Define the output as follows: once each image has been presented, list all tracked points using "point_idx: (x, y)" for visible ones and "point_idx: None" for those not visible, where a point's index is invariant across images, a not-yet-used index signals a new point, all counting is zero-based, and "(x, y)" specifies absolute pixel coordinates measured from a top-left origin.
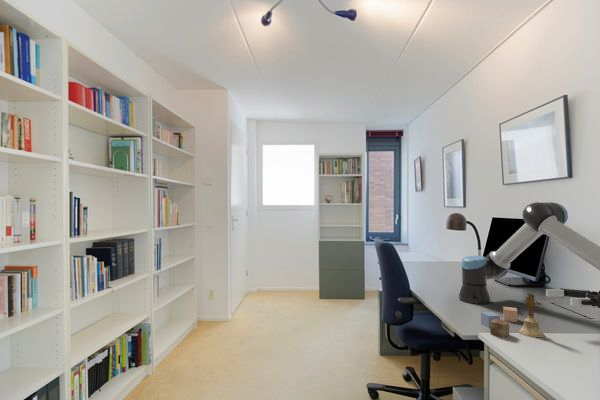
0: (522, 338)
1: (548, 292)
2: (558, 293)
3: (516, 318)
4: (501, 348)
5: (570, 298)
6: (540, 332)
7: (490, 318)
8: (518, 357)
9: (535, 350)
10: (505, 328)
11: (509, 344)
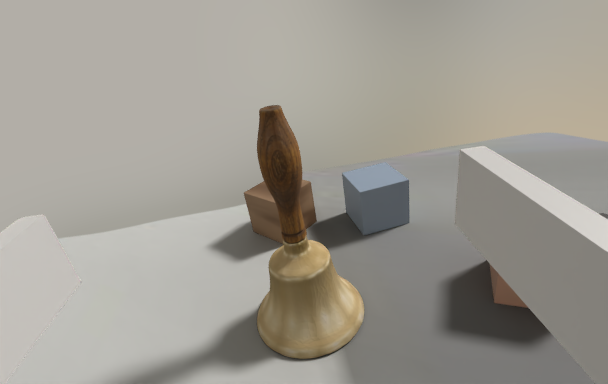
0: (249, 269)
1: (464, 186)
2: (553, 280)
3: (496, 282)
4: (178, 217)
5: (41, 220)
6: (272, 321)
7: (345, 184)
8: (118, 234)
9: (141, 275)
10: (253, 208)
11: (200, 233)
